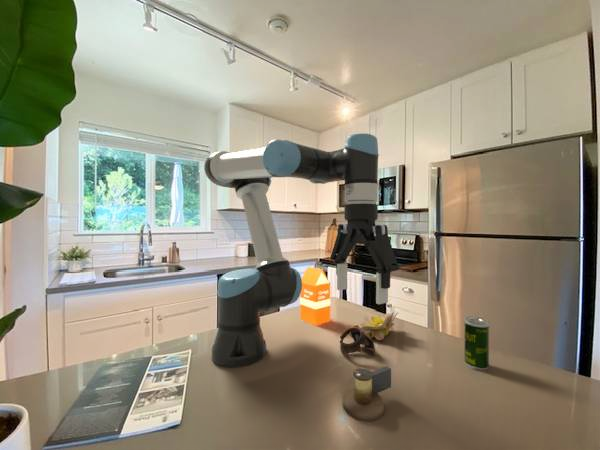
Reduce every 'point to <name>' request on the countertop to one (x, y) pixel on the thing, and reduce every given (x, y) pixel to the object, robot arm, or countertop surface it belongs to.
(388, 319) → the decorative flower
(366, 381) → the knob
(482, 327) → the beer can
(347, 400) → the dial base
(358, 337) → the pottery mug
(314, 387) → the countertop surface
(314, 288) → the orange juice
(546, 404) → the countertop surface
